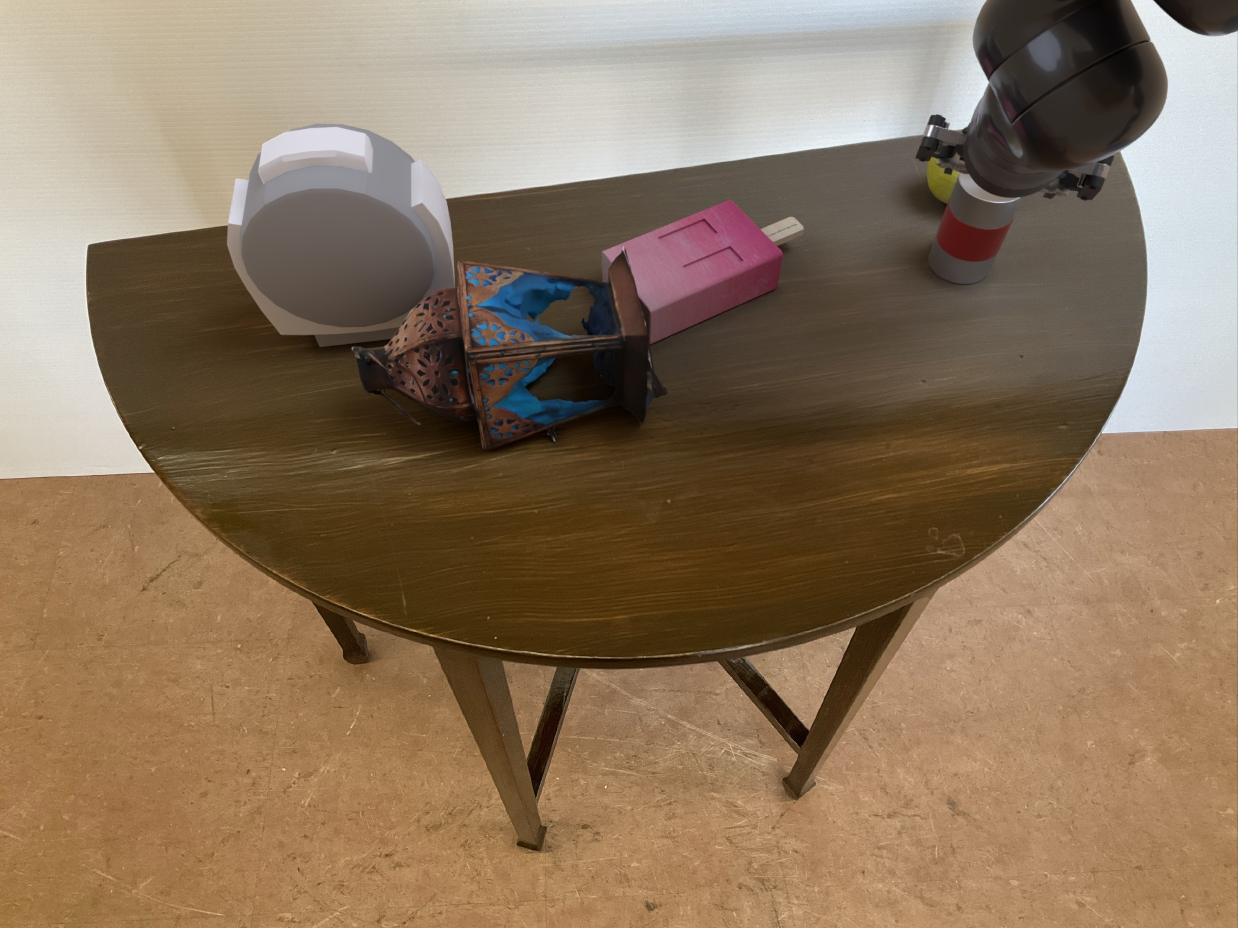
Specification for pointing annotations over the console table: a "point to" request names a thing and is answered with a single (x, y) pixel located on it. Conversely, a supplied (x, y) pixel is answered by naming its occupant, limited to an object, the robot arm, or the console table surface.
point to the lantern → (513, 350)
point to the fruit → (940, 181)
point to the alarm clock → (339, 234)
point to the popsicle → (702, 266)
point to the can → (970, 232)
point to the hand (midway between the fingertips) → (1000, 174)
